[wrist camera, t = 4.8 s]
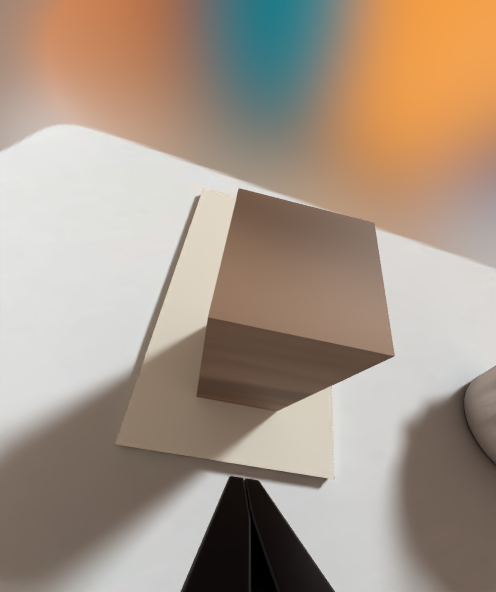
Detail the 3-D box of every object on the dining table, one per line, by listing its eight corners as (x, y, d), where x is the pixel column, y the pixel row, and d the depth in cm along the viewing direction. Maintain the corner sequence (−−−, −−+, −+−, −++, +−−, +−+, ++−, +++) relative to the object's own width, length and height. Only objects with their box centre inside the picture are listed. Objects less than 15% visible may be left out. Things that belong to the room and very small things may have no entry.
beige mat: (328, 478, 14) (334, 479, 14) (117, 444, 13) (114, 444, 13) (324, 224, 24) (327, 219, 24) (202, 194, 23) (203, 188, 23)
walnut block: (277, 411, 15) (394, 356, 6) (196, 396, 15) (207, 317, 6) (282, 336, 17) (374, 223, 9) (213, 321, 17) (238, 188, 8)
